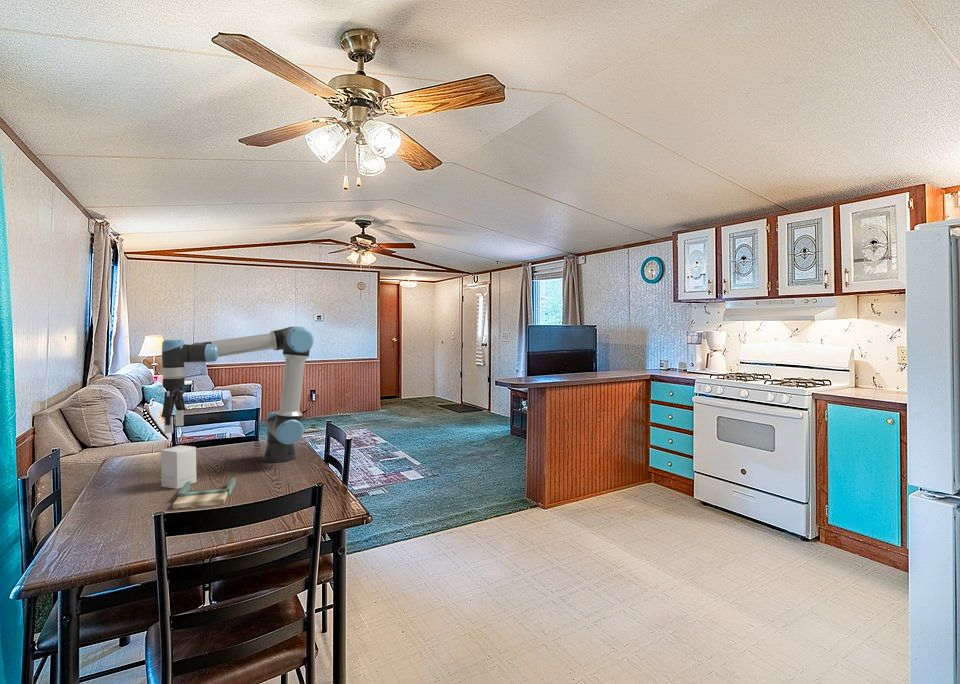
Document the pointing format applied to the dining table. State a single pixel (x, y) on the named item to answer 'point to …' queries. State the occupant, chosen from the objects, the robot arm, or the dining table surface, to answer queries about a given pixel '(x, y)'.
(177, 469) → the supplement box
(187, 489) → the green and wood frame
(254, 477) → the dining table surface
